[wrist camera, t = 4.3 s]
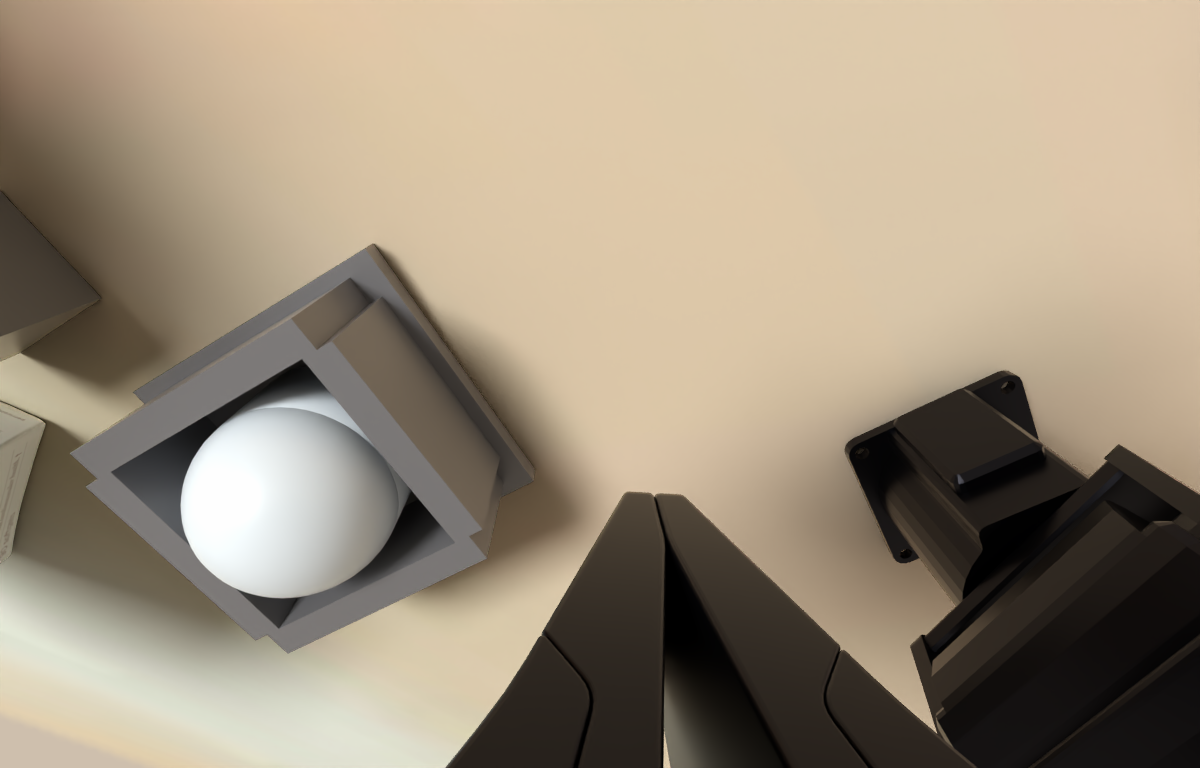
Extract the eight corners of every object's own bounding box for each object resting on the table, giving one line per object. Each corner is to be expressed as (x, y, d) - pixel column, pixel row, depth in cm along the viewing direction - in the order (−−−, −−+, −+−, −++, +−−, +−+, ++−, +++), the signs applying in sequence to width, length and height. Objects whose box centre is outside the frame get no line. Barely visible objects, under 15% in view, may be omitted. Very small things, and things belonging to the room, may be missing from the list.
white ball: (457, 468, 22) (412, 592, 16) (327, 535, 23) (243, 673, 17) (352, 333, 20) (257, 422, 14) (214, 414, 21) (74, 527, 15)
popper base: (535, 469, 23) (523, 556, 19) (331, 571, 25) (275, 673, 20) (373, 243, 20) (308, 282, 15) (148, 382, 21) (29, 455, 17)
